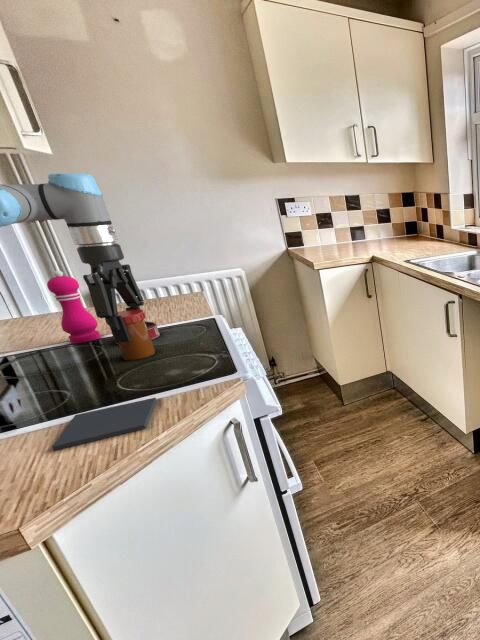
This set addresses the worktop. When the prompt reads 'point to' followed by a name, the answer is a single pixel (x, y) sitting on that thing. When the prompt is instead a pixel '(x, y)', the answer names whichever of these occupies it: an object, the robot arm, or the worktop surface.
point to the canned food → (151, 330)
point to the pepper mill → (73, 309)
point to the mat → (106, 423)
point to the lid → (131, 316)
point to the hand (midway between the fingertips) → (132, 336)
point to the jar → (137, 342)
